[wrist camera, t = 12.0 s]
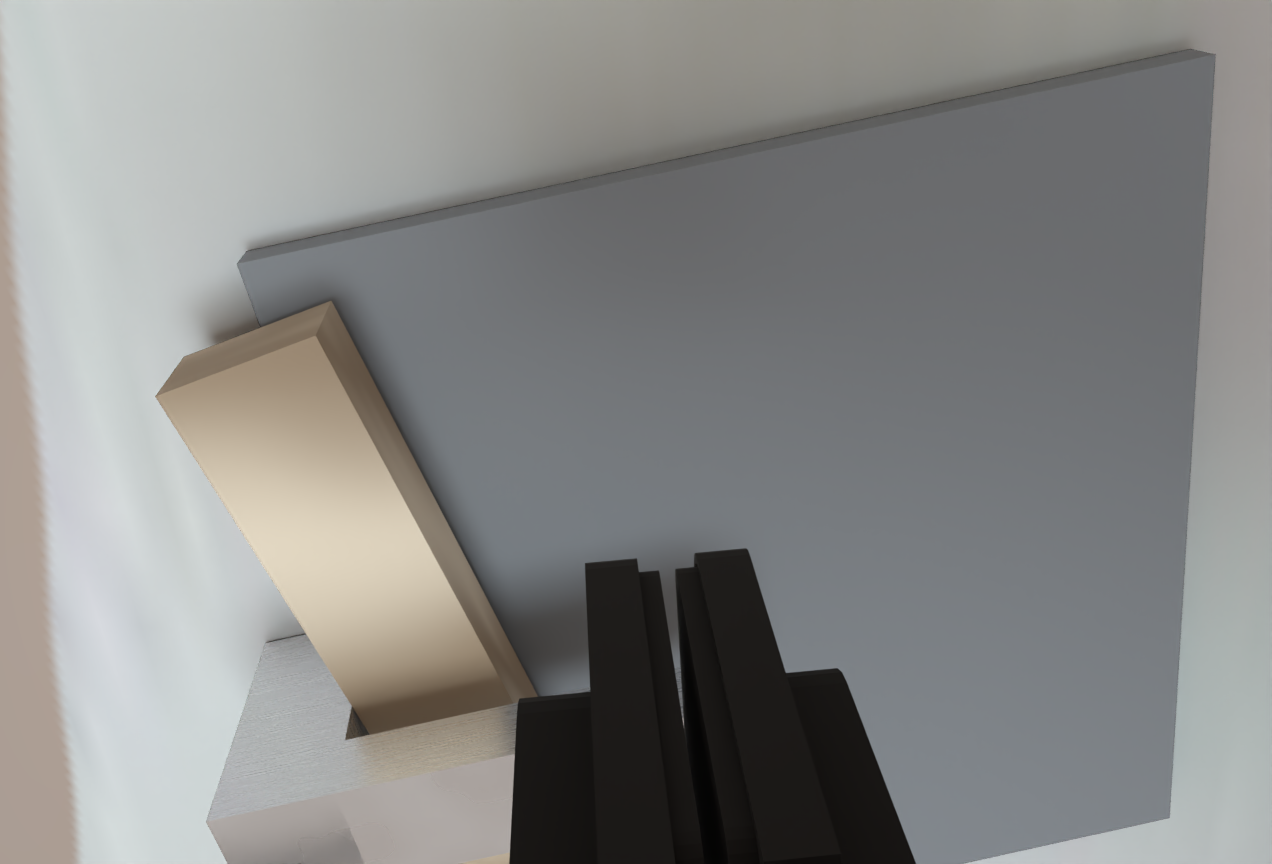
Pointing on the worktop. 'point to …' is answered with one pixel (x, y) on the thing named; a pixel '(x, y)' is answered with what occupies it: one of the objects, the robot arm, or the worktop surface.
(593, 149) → the worktop surface
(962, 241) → the base plate
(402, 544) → the link
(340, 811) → the keeper
